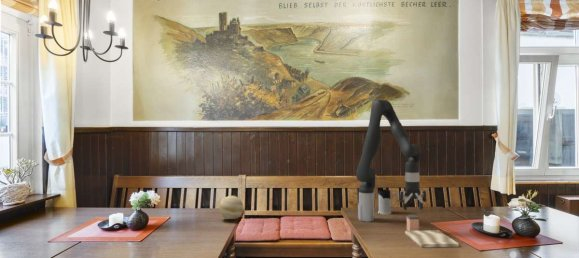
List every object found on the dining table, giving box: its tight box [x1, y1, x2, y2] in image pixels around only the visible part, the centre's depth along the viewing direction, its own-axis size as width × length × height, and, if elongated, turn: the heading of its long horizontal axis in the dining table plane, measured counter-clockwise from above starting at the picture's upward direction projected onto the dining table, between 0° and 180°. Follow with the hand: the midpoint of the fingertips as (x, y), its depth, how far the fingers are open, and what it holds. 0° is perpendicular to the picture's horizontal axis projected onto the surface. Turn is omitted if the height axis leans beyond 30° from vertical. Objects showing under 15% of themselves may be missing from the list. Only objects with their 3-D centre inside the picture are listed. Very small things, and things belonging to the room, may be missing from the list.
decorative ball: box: [219, 195, 244, 220], centre depth 225 cm, size 15×15×15 cm
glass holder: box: [377, 189, 400, 215], centre depth 238 cm, size 9×14×15 cm, turn 96°
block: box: [406, 214, 420, 231], centre depth 197 cm, size 5×5×8 cm
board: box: [404, 229, 460, 249], centre depth 181 cm, size 18×22×2 cm
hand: (413, 209), depth 197 cm, fingers open, 8 cm apart
